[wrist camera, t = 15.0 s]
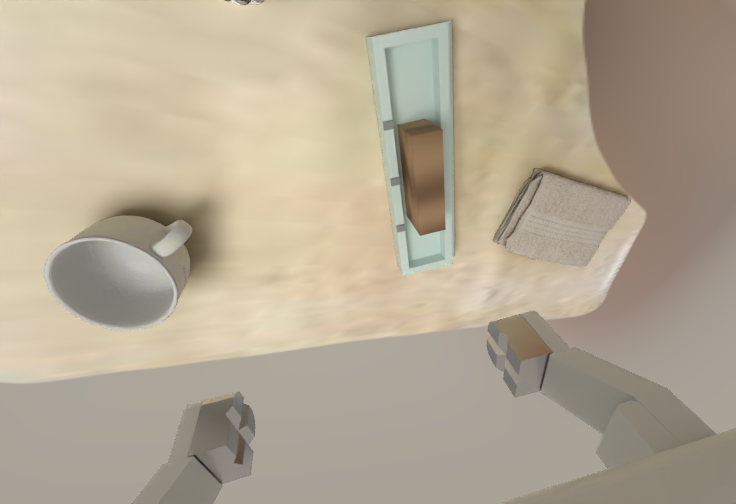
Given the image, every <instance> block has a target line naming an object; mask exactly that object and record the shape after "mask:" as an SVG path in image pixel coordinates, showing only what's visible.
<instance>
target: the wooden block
mask: <svg viewBox="0 0 736 504" xmlns="http://www.w3.org/2000/svg"><path fill="white" fill-rule="evenodd" d="M397 127H398V137H399V146H400V156H401V165H402V175H403V184H404V193H405V203H406V212H407V217H408V219H409V220H410V222H411V223H412V225H413V226H414V228H415V229H416V231H417V232H418V234H419V235H420V236H422V235H426V234H430V233H434V232H438V231H442V230H446V223H445V190H444V157H443V129H441V128H440V127H438V126H436V125H434V124H433V123H431V122H429V121H428V120H426V119H421V120H417V121H412V122H407V123H403V124H398V125H397Z"/></svg>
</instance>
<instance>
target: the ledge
mask: <svg viewBox="0 0 736 504" xmlns="http://www.w3.org/2000/svg"><path fill="white" fill-rule="evenodd" d="M366 41H367V48H368V56H369V63H370V70H371V77H372V85H373V92H374V99H375V106H376V113H377V121H378V128H379V135H380V142H381V150H382V157H383V164H384V171H385V178H386V186H387V193H388V200H389V207H390V215H391V222H392V229H393V236H394V243H395V251H396V258H397V265H398V267H399V270H400V272H401V274H402V276H407V275H411V274H414V273H418V272H422V271H426V270H430V269H434V268H438V267H442V266H445V265H449V264H453V256H454V255H455V237H454V160H453V83H452V21H446V22H441V23H436V24H431V25H426V26H421V27H416V28H411V29H406V30H401V31H396V32H391V33H386V34H381V35H376V36H371V37H366ZM421 119H426V120H428V121H429V122H431V123H433V124H434V125H436V126H438V127H440V128H441V129H443V157H444V190H445V223H446V230H442V231H438V232H434V233H430V234H426V235H422V236H420V235H419V234H418V232H417V231H416V229H415V228H414V226H413V225H412V223H411V222H410V220H409V219H408V217H407V212H406V203H405V193H404V184H403V175H402V165H401V156H400V146H399V137H398V127H397V125H398V124H403V123H407V122H412V121H417V120H421Z"/></svg>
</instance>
